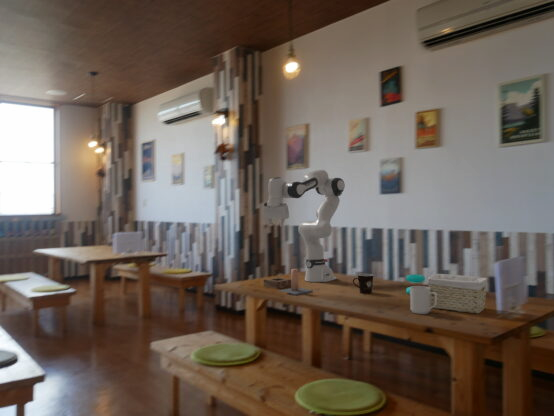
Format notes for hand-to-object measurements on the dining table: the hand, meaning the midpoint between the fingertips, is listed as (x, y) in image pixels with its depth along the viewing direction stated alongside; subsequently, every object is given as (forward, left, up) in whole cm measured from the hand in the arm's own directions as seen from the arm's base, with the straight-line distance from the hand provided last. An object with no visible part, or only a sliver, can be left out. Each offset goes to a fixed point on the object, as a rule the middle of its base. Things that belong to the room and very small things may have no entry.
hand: (276, 226), depth 276 cm
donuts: (-38, +72, -37) cm, 90 cm away
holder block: (+3, +4, -37) cm, 37 cm away
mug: (-2, +98, -37) cm, 105 cm away
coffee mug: (-20, +50, -37) cm, 65 cm away
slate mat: (+5, +21, -37) cm, 43 cm away
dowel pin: (+5, +21, -36) cm, 42 cm away
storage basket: (-20, +105, -37) cm, 113 cm away
